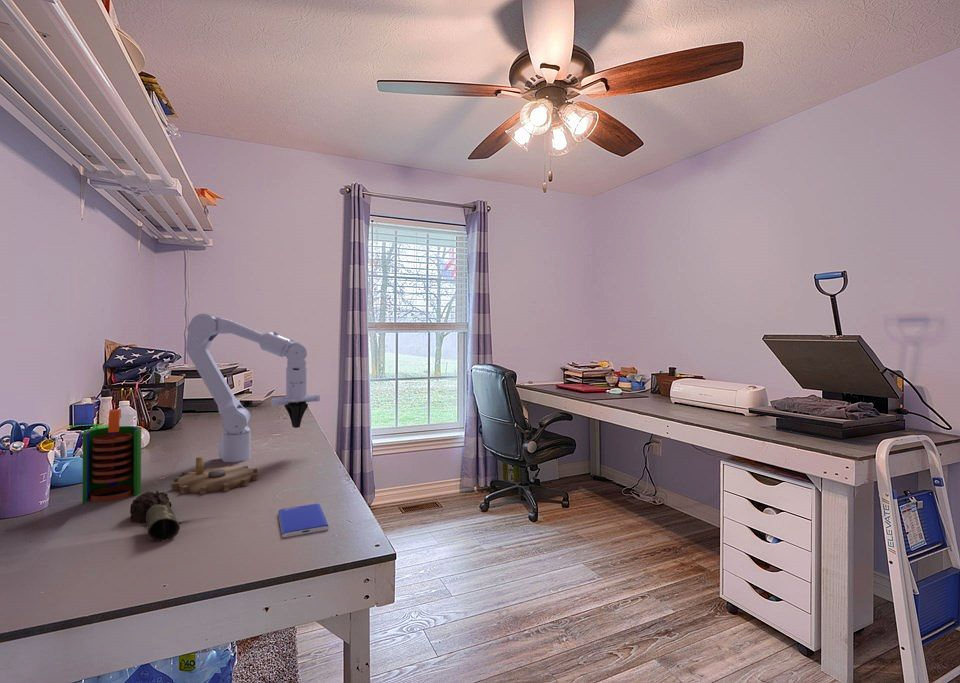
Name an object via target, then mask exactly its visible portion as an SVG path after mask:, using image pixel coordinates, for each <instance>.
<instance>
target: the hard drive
mask: <svg viewBox="0 0 960 683" xmlns="http://www.w3.org/2000/svg"><path fill="white" fill-rule="evenodd" d="M277 513H278V520H279V525H280V526H279V527H280V531H281V537H282V538H288V537H294V536H301V535H304V534H305V535H306V534H311V533H317V532H324V531H326V530H327V531H328V530H329V524H328V521H327V519H326V516H325V514H324V512H323V509H322V507H321V504H320V503H313V504H306V505H305V504H304V505H299V506H293V507H292V506H291V507H286V508H281V509H279V510H278V512H277Z"/></svg>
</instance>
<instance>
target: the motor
mask: <svg viewBox="0 0 960 683" xmlns="http://www.w3.org/2000/svg"><path fill="white" fill-rule="evenodd" d="M121 418H122V409H121V408H117V409H109V412H108V426H107V427H100V428H96V429H90V430H86V431H84V432H82V488H81V489H82V493H81V494H82V502H81V503H82V504H81V505H82V506H84V505H85V504H86V503H87V501H90V502H94V503H106V502H113V501H118V500H123V499H126V498H128V497H131V496H132V495H133V496H139V495H141V493H142V427H141V426H133V425H132V426H131V425H128V426H127V425H123V426H122V425H120V420H121ZM117 491H118V492H119V491H121V492H122V493H118V494H112V495H103V494H106V493H111V492H117ZM123 491H124V492H123ZM101 495H102V496H101Z"/></svg>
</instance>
